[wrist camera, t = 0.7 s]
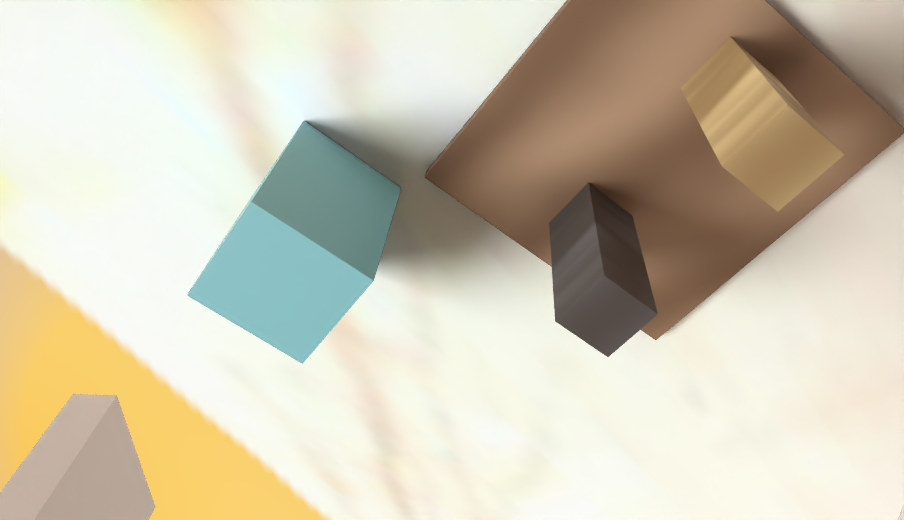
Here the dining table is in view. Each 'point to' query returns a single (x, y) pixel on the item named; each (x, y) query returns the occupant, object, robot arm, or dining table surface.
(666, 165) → the stand
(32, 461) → the robot arm
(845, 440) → the dining table surface
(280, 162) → the teal rectangular prism
